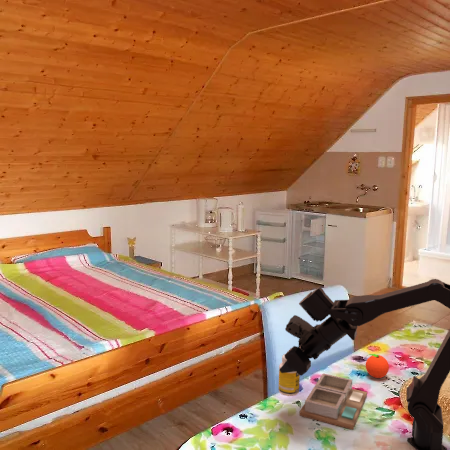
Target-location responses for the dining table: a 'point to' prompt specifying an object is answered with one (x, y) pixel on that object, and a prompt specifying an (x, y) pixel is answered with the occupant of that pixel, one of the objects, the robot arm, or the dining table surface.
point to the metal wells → (328, 396)
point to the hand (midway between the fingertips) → (284, 366)
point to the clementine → (377, 366)
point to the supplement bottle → (288, 381)
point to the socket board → (348, 412)
